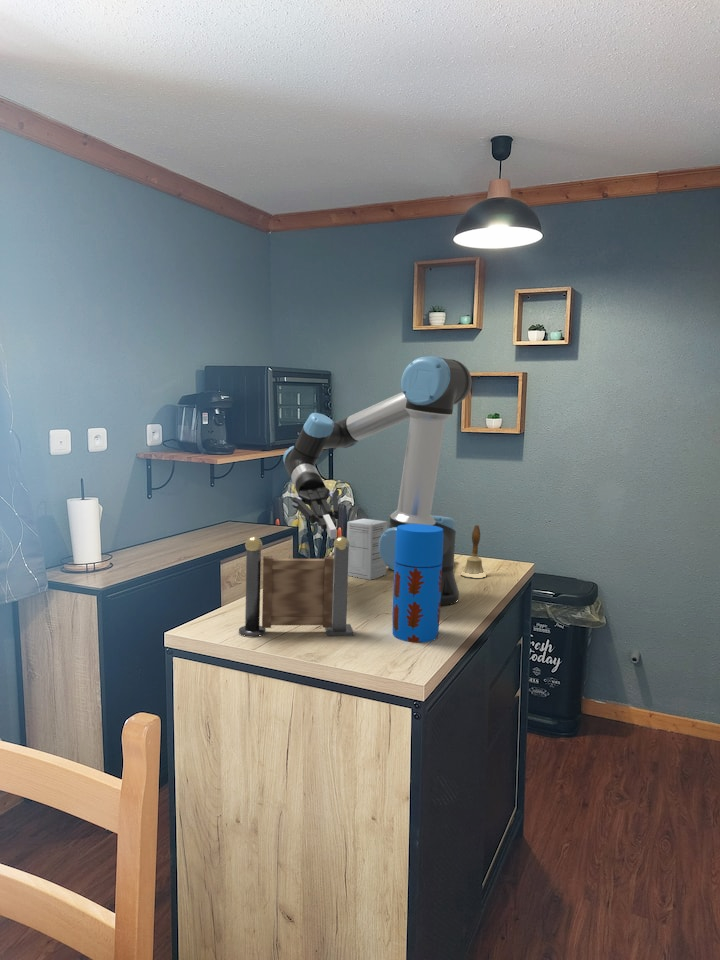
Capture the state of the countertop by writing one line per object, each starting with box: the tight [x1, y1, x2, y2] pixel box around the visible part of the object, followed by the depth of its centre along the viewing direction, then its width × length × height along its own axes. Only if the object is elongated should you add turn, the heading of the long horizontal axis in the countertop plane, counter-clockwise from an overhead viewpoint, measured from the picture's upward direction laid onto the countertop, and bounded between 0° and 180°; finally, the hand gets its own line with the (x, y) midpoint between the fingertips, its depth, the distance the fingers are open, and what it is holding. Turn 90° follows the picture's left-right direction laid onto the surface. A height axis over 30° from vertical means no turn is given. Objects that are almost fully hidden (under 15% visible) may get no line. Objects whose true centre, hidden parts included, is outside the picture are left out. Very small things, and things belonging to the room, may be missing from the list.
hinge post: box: [238, 535, 267, 637], centre depth 162 cm, size 6×6×22 cm
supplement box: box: [346, 518, 389, 581], centre depth 219 cm, size 10×9×17 cm
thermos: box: [391, 524, 444, 643], centre depth 164 cm, size 11×11×25 cm
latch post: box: [324, 536, 354, 637], centre depth 164 cm, size 6×6×22 cm
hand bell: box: [462, 524, 485, 574], centre depth 224 cm, size 8×8×16 cm
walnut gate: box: [261, 555, 334, 629], centre depth 163 cm, size 16×2×16 cm, turn 97°
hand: (333, 533), depth 174 cm, fingers closed
